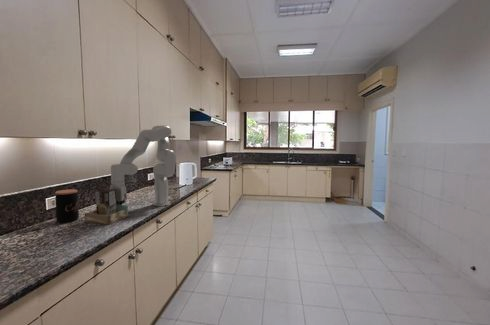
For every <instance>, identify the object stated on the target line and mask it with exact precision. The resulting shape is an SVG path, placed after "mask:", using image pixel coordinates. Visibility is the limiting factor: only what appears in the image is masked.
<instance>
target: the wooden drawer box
mask: <svg viewBox="0 0 490 325" xmlns="http://www.w3.org/2000/svg"><path fill="white" fill-rule="evenodd" d="M95 213H97V209H95V210H92V211H88V212H86V213H84V222H85V223H92V224H101V225H107V226H108V225H109V226H110V225H112V224H114V223H116V222H118V221H121V220H123V219H126V218H128V216H127V210H126V209H125V210H122V211H119V212H117V213H114V214H112V215H100V214H95Z"/></svg>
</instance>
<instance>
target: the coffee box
mask: <svg viewBox="0 0 490 325" xmlns="http://www.w3.org/2000/svg"><path fill="white" fill-rule="evenodd" d="M95 203H96V204H95V205H96V207H95V208H96V209H95V210H97V214H100V215H112V214H114V213H117V210H116V190H110V188H109V189H105V188H104V189H99V190H96V191H95Z"/></svg>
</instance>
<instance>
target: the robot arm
mask: <svg viewBox="0 0 490 325" xmlns="http://www.w3.org/2000/svg"><path fill="white" fill-rule="evenodd" d="M171 135H172V128H171V127H170V126H168V125H154V126H153V127H152V128H151V129H142V130H141V131H140V132H139V133H138V136H137V138H136V140H135V142H134V144H133V145H132V146H131V148H130V149H129V150H128V151H127V152H126V153H125V154H124V156H123V157H122V158H121V160H120V162H119V163H117V164H116V163H114V164H112V165H111V166H110V175H111V176H110V179H111V181H110V184H111V185H110V186H109V189H110V190H116V205H124V203H126V202H127V198H128V194H127V192H128V191H127V186H126V185H125V175H131V176H133V175H135V174H137V172H138V170H139V168H138V166H137V165H136V164H134V163H133V162H134V161H135V159H137V158H138V157H140V156H142V155H144V154H145V153H146V150H147V148H148V146H149V145H150V144H151V143H153V142H157V150H156V159H157V161H159V162H161V163H157V164H155V165H154V166H153V170H152V172H153V178H154V202H152V206H155V207H166V206H169V205H170V204H171V201H170V200H171V196H169V181H168V178H170V177H173V175H174V174H175V171H176V166H177V165H176V163H177V154H176V152H175V151H174V150H172V149H170V145H171V142H170V140H169V137H170V136H171ZM150 142H151V143H150ZM165 205H166V206H165Z"/></svg>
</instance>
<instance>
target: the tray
mask: <svg viewBox="0 0 490 325" xmlns="http://www.w3.org/2000/svg"><path fill="white" fill-rule="evenodd" d="M125 209H126V210H127V217H129V206H128V205H124V204H122V205H116V210H117V212H119V211H122V210H125ZM95 214H97V213H95Z"/></svg>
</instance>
